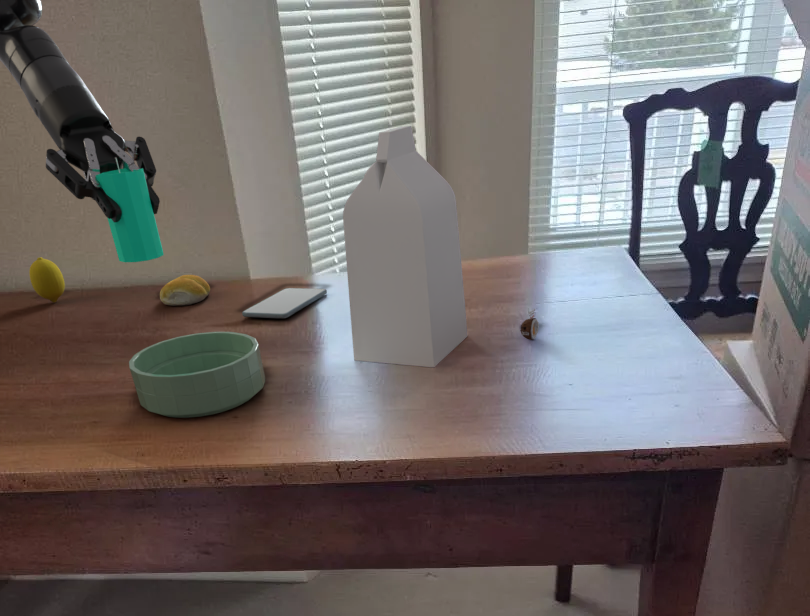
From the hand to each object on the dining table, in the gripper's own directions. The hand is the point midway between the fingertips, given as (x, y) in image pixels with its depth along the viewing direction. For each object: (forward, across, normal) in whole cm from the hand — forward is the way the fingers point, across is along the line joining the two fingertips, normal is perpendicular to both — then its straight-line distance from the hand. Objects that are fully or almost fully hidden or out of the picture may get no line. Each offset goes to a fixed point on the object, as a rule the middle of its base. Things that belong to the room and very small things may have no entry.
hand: (137, 213), depth 94 cm
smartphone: (+11, +24, +16) cm, 30 cm away
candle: (+3, 0, +5) cm, 6 cm away
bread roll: (-3, +17, +30) cm, 35 cm away
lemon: (-19, +3, +46) cm, 51 cm away
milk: (+33, +20, -7) cm, 40 cm away
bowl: (+26, -6, +1) cm, 27 cm away
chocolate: (+41, +31, -15) cm, 54 cm away
